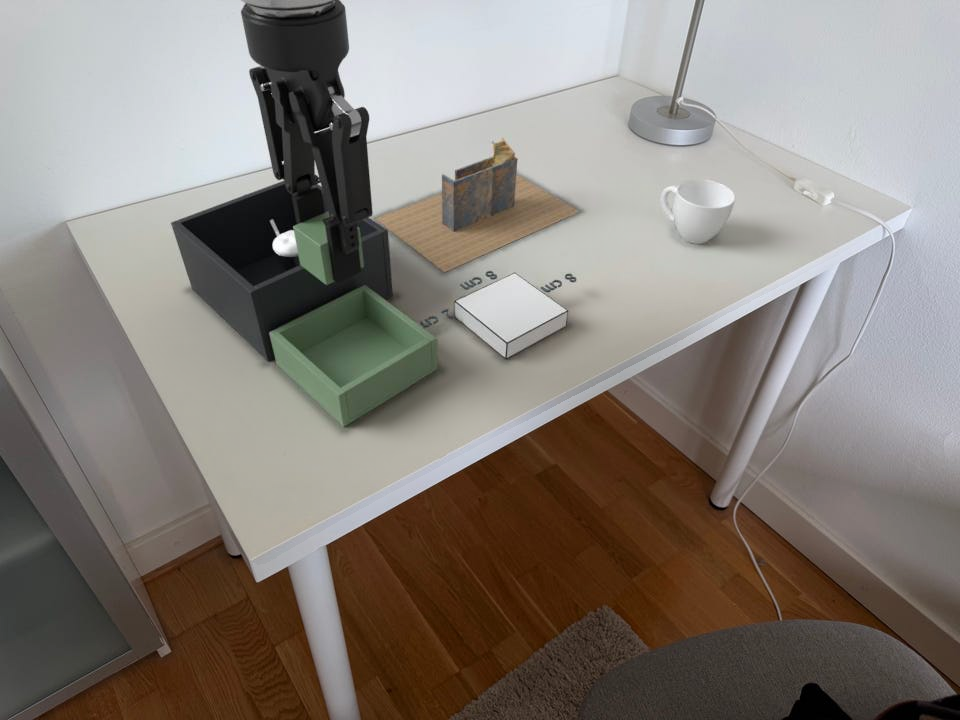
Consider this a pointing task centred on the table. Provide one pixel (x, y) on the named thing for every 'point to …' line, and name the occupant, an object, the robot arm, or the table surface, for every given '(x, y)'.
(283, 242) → the milkshake
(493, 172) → the architectural model on board
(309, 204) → the robot arm
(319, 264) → the green block
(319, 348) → the green bin
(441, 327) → the table surface
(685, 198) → the cup
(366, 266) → the dark bin
